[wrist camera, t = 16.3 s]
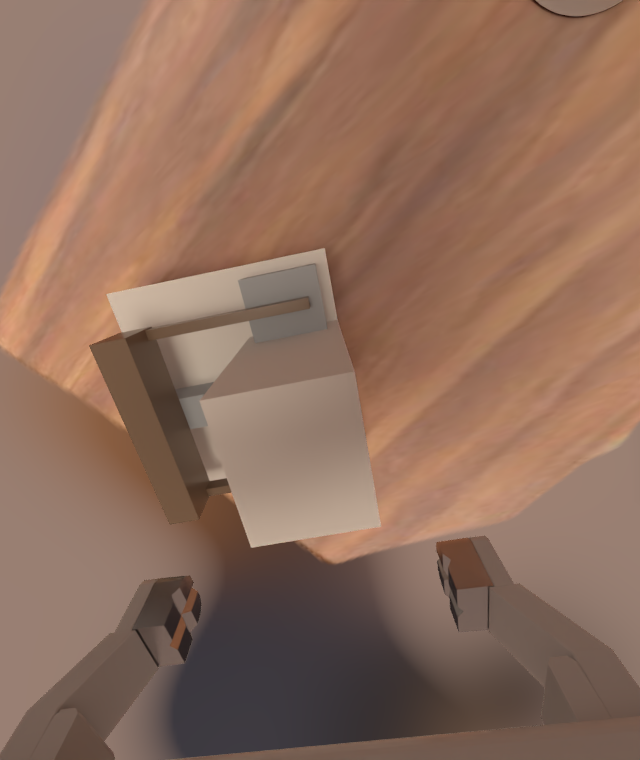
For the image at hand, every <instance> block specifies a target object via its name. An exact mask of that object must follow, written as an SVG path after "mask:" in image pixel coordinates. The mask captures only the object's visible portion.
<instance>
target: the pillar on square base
mask: <svg viewBox="0 0 640 760" xmlns="http://www.w3.org/2000/svg"><path fill="white" fill-rule="evenodd" d="M106 295H107V297H108V300H109V302H110V305H111V307H112V309H113V312H114V314H115V317H116V319H117V322H118V324H119V326H120V329H121V331H122V332H127V331H132V330H137V329H142V328H147V327H152V328H153V327H158V326H163V325H168V324H173V323H178V322H183V321H188V320H193V319H197V318H202V317H207V316H212V315H217V314H222V313H227V312H232V311H237V310H242V309H247V308H252V307H257V306H261V305H266V304H271V303H276V302H281V301H286V300H291V299H296V298H301V297H306V296H308V297H309V302H310V309H306V310H301V311H296V312H291V313H286V314H281V315H276V316H271V317H266V318H261V319H256V320H251V321H246V322H241V323H236V324H231V325H226V326H221V327H216V328H211V329H206V330H201V331H196V332H191V333H186V334H181V335H176V336H171V337H166V338H161V339H156V340H157V342H158V345H159V348H160V350H161V353H162V356H163V358H164V361H165V364H166V366H167V369H168V372H169V374H170V377H171V379H172V382H173V385H174V387H175V390H176V393H177V395H178V398H179V401H180V403H181V406H182V409H183V411H184V414H185V417H186V419H187V422H188V425H189V427H190V430H191V433H192V435H193V438H194V441H195V443H196V446H197V449H198V451H199V454H200V457H201V459H202V462H203V465H204V467H205V470H206V472H207V475H208V478H209V480H210V481H213V480H219V479H225V478H227V481H228V483H229V486H230V489H231V492H232V495H233V498H234V500H235V503H236V506H237V509H238V512H239V514H240V517H241V520H242V523H243V526H244V529H245V531H246V534H247V537H248V540H249V543H250V545H251V547H258V546H264V545H271V544H277V543H283V542H289V541H295V540H301V539H308V538H314V537H320V536H326V535H332V534H339V533H345V532H351V531H357V530H363V529H369V528H376V527H381V523H380V517H379V511H378V505H377V500H376V494H375V488H374V482H373V476H372V470H371V464H370V458H369V452H368V447H367V441H366V435H365V429H364V423H363V417H362V411H361V405H360V400H359V394H358V388H357V382H356V376H355V371H354V368H353V365H352V362H351V359H350V356H349V353H348V350H347V347H346V344H345V341H344V338H343V335H342V332H341V329H340V326H339V323H338V320H337V314H336V308H335V303H334V297H333V292H332V286H331V280H330V275H329V269H328V264H327V258H326V252H325V248H323V249H318V250H313V251H308V252H304V253H299V254H294V255H290V256H285V257H280V258H275V259H271V260H266V261H261V262H256V263H252V264H247V265H242V266H237V267H233V268H228V269H223V270H218V271H214V272H209V273H204V274H200V275H195V276H190V277H185V278H181V279H176V280H171V281H166V282H162V283H157V284H152V285H147V286H143V287H138V288H133V289H129V290H124V291H119V292H114V293H110V294H106Z"/></svg>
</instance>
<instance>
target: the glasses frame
mask: <svg viewBox="0 0 640 760" xmlns="http://www.w3.org/2000/svg"><path fill="white" fill-rule="evenodd" d="M306 309H310V302H309V297H308V296H306V297H301V298H296V299H291V300H286V301H281V302H276V303H271V304H266V305H261V306H257V307H252V308H247V309H242V310H237V311H232V312H227V313H222V314H217V315H212V316H207V317H202V318H197V319H193V320H188V321H183V322H178V323H173V324H168V325H163V326H158V327H153V328H152V327H147V328H142V329H137V330H132V331H127V332H122V333H119V334H116V335H114V336H111V337H109V338H106V339H104V340H102V341H99V342H97V343H94V344H92V345H89V347H90V349H91V351H92V353H93V356H94V358H95V360H96V362H97V364H98V367H99V369H100V371H101V373H102V375H103V378H104V380H105V382H106V384H107V387H108V389H109V391H110V393H111V395H112V398H113V400H114V402H115V404H116V406H117V409H118V411H119V413H120V415H121V418H122V420H123V422H124V424H125V426H126V429H127V431H128V433H129V435H130V437H131V440H132V442H133V444H134V446H135V448H136V451H137V453H138V455H139V457H140V460H141V462H142V464H143V466H144V468H145V471H146V473H147V475H148V477H149V479H150V482H151V484H152V486H153V488H154V491H155V493H156V495H157V497H158V499H159V502H160V504H161V506H162V508H163V510H164V513H165V515H166V517H167V519H168V521H169V524H176V523H181V522H187V521H193V520H199V519H200V516H201V514H202V512H203V510H204V507H205V505H206V502H207V500H208V498H209V496H213V495H219V494H225V493H231V489H230V486H229V483H228V481H227V478H225V479H219V480H213V481H210V480H209V478H208V475H207V472H206V470H205V467H204V465H203V462H202V459H201V457H200V454H199V451H198V449H197V446H196V443H195V441H194V438H193V435H192V433H191V430H190V427H189V425H188V422H187V419H186V417H185V414H184V411H183V409H182V406H181V403H180V401H179V398H178V395H177V393H176V390H175V387H174V385H173V382H172V379H171V377H170V374H169V372H168V369H167V366H166V364H165V361H164V358H163V356H162V353H161V350H160V348H159V345H158V342H157V340H156V339H161V338H166V337H171V336H176V335H181V334H186V333H191V332H196V331H201V330H206V329H211V328H216V327H221V326H226V325H231V324H236V323H241V322H246V321H251V320H256V319H261V318H266V317H271V316H276V315H281V314H286V313H291V312H296V311H301V310H306Z"/></svg>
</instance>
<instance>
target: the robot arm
mask: <svg viewBox="0 0 640 760" xmlns="http://www.w3.org/2000/svg"><path fill="white" fill-rule="evenodd" d="M536 1H537V2H538V3H539V4H540V5H542V6H543V7H545V8H547V9H549V10H550V11H553V12H555V13H558V14H562V15H567V16H585V15H591V14H595V13H598V12H601V11H604V10H606V9H608V8H611V7H613V6H614V5H616V4H618V3H619V2H621V1H623V0H536ZM436 550H437V553H438V556H439V559H438V561H437V564H438V571H439V576H440V580H441V584H442V586H443V590H444V593H445V595H447V596H448V597H449V598H450V610H451V612H452V615H453V618H454V621H455V623H456V626H457V629H458V631H459V632H468V631H479V630H489V632H490V633H491V634H492V635H493V636H494V637H495V638H496V639H497V640H498V641H499V642H500V643H501V644H502V645H503V646H504V647H505V648H506V649H507V650H508V651H509V652H510V654H512V656H514V658H515V659H516V660H517V661H519V662H520V664H521V665H522V666H523V667H524V668H525V669H526V670H528V672H529V673H530V674H531V675H532V676H534V678H535V679H536V680H537V681H538V682H539V683H541V685H542V686H543V687H544V688H545V691H544V699H543V706H542V714H541V719H542V721H543V723H544V725H538V726H526V727H516V728H506V729H495V730H484V731H474V732H463V733H451V734H441V735H430V736H419V737H409V738H398V739H386V740H375V741H365V742H354V743H344V744H332V745H321V746H310V747H300V748H289V749H278V750H268V751H256V752H247V753H235V754H224V755H213V756H203V757H192V758H181V759H170V760H640V688H639V686H638V685H637V683H636V682H635V681H634V679H633V678H632V676H631V675H630V674H629V672H628V671H627V669H626V668H625V667H624V665H623V664H622V662H621V661H620V660H619V658H618V657H617V655H616V654H615V653H614V651H613V650H612V649H611V648H609V647H608V646H607V645H605V644H604V643H602V642H601V641H600V640H598V639H597V638H595V637H594V636H593V635H591V634H590V633H588V632H587V631H586V630H584V629H582V628H581V627H580V626H578V625H577V624H575V623H574V622H573V621H571V620H570V619H569V618H567V617H566V616H564V615H563V614H562V613H560V612H559V611H557V610H556V609H555V608H553V607H552V606H550V605H549V604H547V603H546V602H545V601H543V600H542V599H540V598H539V597H538V596H536V595H535V594H533V593H532V592H531V591H529V590H528V589H526V588H525V587H523V586H522V585H521V584H514V583H513V581H512V579H511V578H510V576H509V574H508V572H507V571H506V569H505V567H504V566H503V564H502V562H501V560H500V558H499V557H498V555H497V553H496V552H495V550H494V548H493V546H492V544H491V543H490V541H489V539H488V538H487V537H486V536H479V537H472V538H462V539H456V540H448V541H441V542H437V543H436ZM193 583H194V582H193V580H192V578H191V577H190V576H180V577H171V578H160V579H152V580H144V581H143V582H142V583H141V584H140V585H139V587H138V589H137V591H136V593H135V595H134V597H133V598H132V600H131V602H130V604H129V606H128V608H127V610H126V612H125V614H124V616H123V617H122V619H121V621H120V623H119V625H118V627H117V629H116V630H115V632H114V633H110V634H109V635H108V636H106V638H104V639H103V640H102V641H101V642H100V643H99V644H98V645H97V646H96V647H95V648H94V649H93V650H92V651H91V652H89V653H88V654H87V655H86V656H85V657H84V658H83V659H82V660H81V661H80V662H79V663H78V664H77V665H76V666H75V667H73V668H72V669H71V670H70V671H69V672H68V673H67V674H66V675H65V676H64V677H63V678H62V679H61V680H60V681H59V682H57V683H56V684H55V685H54V686H53V687H52V688H51V689H50V690H49V691H48V692H47V693H46V694H45V695H44V696H43V697H41V698H40V699H39V700H38V701H37V702H36V703H35V704H34V705H33V706H32V707H31V708H30V709H29V710H28V711H27V712H26V714H25V715H24V717H23V718H22V720H21V722H20V723H19V725H18V726H17V728H16V729H15V731H14V733H13V734H12V736H11V737H10V739H9V741H8V742H7V744H6V745H5V747H4V749H3V750H2V752H1V754H0V760H115V757H114V753H113V751H112V750H111V749H110V748H109V747H108V745H107V744H106V743H105V742H104V741H105V739H106V738H107V737H108V736H109V734H110V733H111V732H112V730H113V729H114V728H115V726H116V725H117V724H118V722H119V721H120V720H121V718H122V717H123V716H124V714H125V713H126V712H127V710H128V709H129V708H130V706H131V705H132V704H133V702H134V701H135V700H136V698H137V697H138V696H139V694H140V693H141V692H142V690H143V689H144V687H145V686H146V685H147V684H148V682H149V681H150V680H151V678H152V677H153V676H154V674H155V673H156V672H157V670H158V667H162V666H169V665H176V664H183V663H185V661H186V658H187V655H188V652H189V649H190V646H191V643H192V640H193V639H192V636H191V631H192V630H193V628H194V627H195V626H196V625H197V624H198V621H199V618H200V613H201V598H200V595H199V593H198V591H196V590H195V589H193V588H192V586H193Z"/></svg>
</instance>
